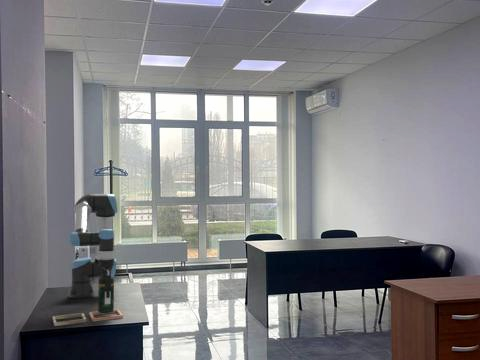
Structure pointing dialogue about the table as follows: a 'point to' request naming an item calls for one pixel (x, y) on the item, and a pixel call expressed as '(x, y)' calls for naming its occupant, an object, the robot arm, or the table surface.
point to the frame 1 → (69, 317)
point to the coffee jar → (101, 296)
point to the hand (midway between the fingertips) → (106, 301)
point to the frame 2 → (106, 316)
